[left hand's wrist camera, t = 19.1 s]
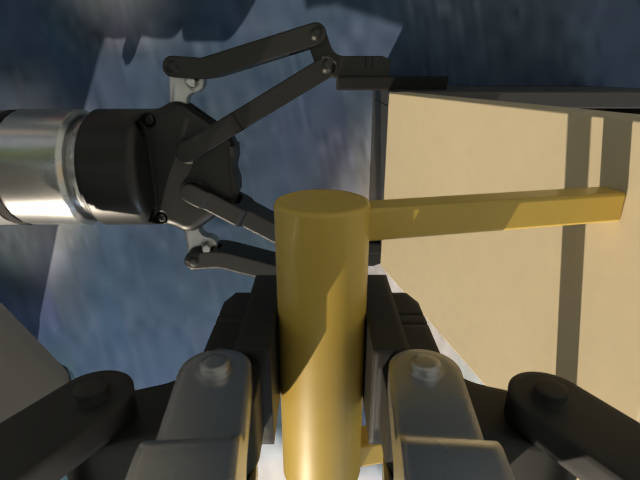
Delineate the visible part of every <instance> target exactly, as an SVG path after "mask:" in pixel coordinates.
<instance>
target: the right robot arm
mask: <svg viewBox="0 0 640 480" xmlns="http://www.w3.org/2000/svg"><path fill="white" fill-rule="evenodd" d="M307 50H311V53H312V56H313V59H314V62H313V63H312V64H310V65H309V66H307V67H305V68H304V69H302V70H300V71H299V72H297V73H296V74H294V75H292V76H291V77H289V78H287V79H286V80H284V81H283V82H281V83H279V84H278V85H276V86H274V87H273V88H271V89H270V90H268V91H266V92H265V93H263V94H261V95H260V96H258V97H257V98H255V99H253V100H252V101H250V102H248V103H247V104H245V105H244V106H242V107H240V108H239V109H237V110H235V111H234V112H232V113H230V114H229V115H227V116H225V117H224V118H222V119H220V120H219V121H216V120H214V119H213V118H212V117H210V116H209V115H207V114H206V113H205V112H203V111H202V110H200V109H199V108H197V107H196V106H195V105H193V104H192V103H190V98H191V96H192V95H193V94H194V93H196V92H200V91H202V90H204V89H205V87H206V84H207V79H212V78H219V77H223V76H226V75H230V74H233V73H236V72H239V71H242V70H246V69H249V68H252V67H255V66H259V65H262V64H265V63H268V62H271V61H275V60H278V59H281V58H284V57H288V56H291V55H294V54H297V53H300V52H304V51H307ZM163 70H164V72H165V73H166V74H167V75H168V76H169V78H170V103H168V104H166V105H165V106H163V107H161V108H158V109H96V110H93V111H92V112H88V111H86V110H83V109H19V110H6V111H0V225H16V224H26V225H32V224H61V225H93V224H95V223H97V222H99V221H100V222H101V223H103V224H170V225H173V226H176V227H178V228H180V229H182V230H185V236H186V241H187V247H188V254H187V255H186V257H185V264H186V266H187V267H188V268H190V269H209V268H221V269H225V270H229V271H233V272H237V273H241V274H245V275H249V276H253V277H256V275H276V252H273V251H269V250H265V249H261V248H257V247H253V246H250V245H246V244H242V243H238V242H234V241H229V240H219V238H218V236H216V235H215V234H212V233H208V232H206V231H205V230H204V229H203V228H202V226H203V225H204V224H205V223H207V222H208V221H209V220H211V219H212V218H214V217H215V216H217V217H219V218H221V219H223V220H225V221H227V222H229V223H231V224H233V225H235V226H242V227H244V228H246V229H248V230H250V231H252V232H254V233H256V234H258V235H260V236H262V237H264V238H266V239H268V240H270V241H271V242H273V243H275V225H274V212H273V211H272V210H270V209H268V208H266V207H264V206H262V205H260V204H258V203H257V202H255V201H254V200H253V199H252V198H251V197H249V196H248V195H246V194H244V193H242V192H240V189H241V188H242V177H241V173H240V170H239V167H238V160H239V156H240V145H239V142H237V140H236V137H235V136H234V135H236V134H237V133H239V132H241V131H242V130H244V129H245V128H247V127H249V126H250V125H252V124H254V123H255V122H257V121H259V120H260V119H262V118H263V117H265V116H267V115H268V114H270V113H272V112H273V111H275V110H277V109H278V108H280V107H282V106H283V105H285V104H287V103H288V102H290V101H292V100H293V99H295V98H297V97H298V96H300V95H302V94H303V93H305V92H307V91H308V90H310V89H311V88H313V87H315V86H316V85H318V84H320V83H321V82H323V81H325V80H326V79H328V78H330V77H337V80H336V89H337V90H447V80H448V77H445V76H389V74H390V59H388V58H385V57H383V56H340V55H337V54H336V53H334V51H333V50H332V48H331V46H330V43H329V40H328V37H327V34H326V30H325V28H324V26H323V25H322V24H321V23H318V22H314V23H310V24H307V25H304V26H301V27H298V28H294V29H291V30H288V31H285V32H282V33H279V34H275V35H272V36H269V37H266V38H263V39H260V40H256V41H253V42H250V43H247V44H244V45H241V46H237V47H234V48H231V49H228V50H225V51H222V52H218V53H215V54H212V55H209V56H206V57H202V58H195V57H182V56H168V57H167V58H165V60H164V61H163ZM381 247H382V245H381V242H380V240H375V241H369V253H368V266H374V265H377V264H380V260H381ZM73 379H75V376H74V375H73V373H72V372H71V371H70V370H69V369H68V368H67V367H65V366H64V365H62V364H60V363H59V362H58V361H57V360H56V359H55V358H54V357H53V356H52V355H51V354H50V353H49V352H48V351H47V349H46V348H45V347H44V346H43V345H42V344H41V343H40V342H39V341H38V340H37V339H36V338H35V337H34V336H33V335H32V334H31V333H30V332H29V331H28V330H27V329H26V328H25V327H24V326H23V325H22V324H21V323H20V322H19V321H18V320H17V319H16V318H15V317H14V316H13V314H12V313H11V312H10V311H9V310H8V309H7V308H6V307H5V306H4V305H3V304H2V303H1V302H0V423H1V422H3V421H4V420H6V419H8V418H9V417H11V416H13V415H14V414H16V413H18V412H19V411H21V410H23V409H24V408H26V407H28V406H29V405H31V404H33V403H34V402H36V401H38V400H39V399H41V398H43V397H44V396H46V395H48V394H49V393H51V392H53V391H54V390H56V389H58V388H59V387H61V386H63V385H64V384H66V383H68V382H70V381H72V380H73ZM61 480H68V479H67V475H66V476H64V477H63V478H62V479H61Z"/></svg>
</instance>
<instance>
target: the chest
mask: <svg viewBox="0 0 640 480" xmlns="http://www.w3.org/2000/svg"><path fill="white" fill-rule="evenodd" d="M390 92H412V93H423V94H433V95H443V96H454V97H464V98H475V99H485V100H495V101H506V102H516V103H526V104H537V105H547V106H558V107H568V108H578V109H589V110H599V111H609V112H620V113H630V114H640V89H638V88H617V87H596V86H447V90H373V114H372V140H371V166H370V192H369V201H370V200H384V187H385V167H386V147H387V127H388V107H389V93H390ZM380 242H381V245H382V240H380Z"/></svg>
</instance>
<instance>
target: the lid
mask: <svg viewBox="0 0 640 480" xmlns="http://www.w3.org/2000/svg"><path fill="white" fill-rule="evenodd" d="M274 225H275V251H276V278H277V305H278V332H279V359H280V385H281V412H282V439H283V466H284V474H285V477H286V480H357V479H358V476H359V473H360V467H363V466H368V465H374V464H379V463H383V450H382V444H369V440H368V433H367V425H364V426H362V405H363V375H364V350H365V325H366V304H367V278H368V253H369V241H375V240H382V247H381V266H382V267H383V268H384V270H385V271H386V272H387V273H388V274H389V275H390V276H391V278H392V279H393V280H394V281H395V282H396V283H397V284H398V286H399V287H400V288H401V289H402V290H403V291H404V293H407V294H408V295H410V296H411V297H412V298H413V299H415V300H416V301H417V302H418V303H419V305H420V308H421V310H422V312H423V314H424V315H425V317H426V318H427V319H428V320H429V321H430V322H431V323H432V325H433V326H434V327H435V328H436V329H437V330H438V331H439V333H440V334H441V335H442V336H443V337H444V338H445V340H446V341H447V342H448V343H449V344H450V345H451V346H452V348H453V349H454V350H455V351H456V352H457V353H458V354H459V356H460V357H461V358H462V359H463V360H464V361H465V362H466V364H467V365H468V366H469V367H470V368H471V369H472V370H473V372H474V373H475V374H476V375H477V376H478V377H479V378H480V380H481V381H482V382H483V383H484V384H485V385H486V386H489V387H494V388H498V389H503V390H507V389H508V383H509V381H510V379H511V378H512V377H513V376H515V375H517V374H519V373H523V372H544V373H549V374H553V375H556V376H559V377H562V378H564V379H566V380H568V381H570V382H572V383H574V384H576V385H577V386H579V387H581V388H582V389H584V390H586V391H587V392H589V393H591V394H592V395H594V396H596V397H597V398H599V399H601V400H602V401H604V402H606V403H607V404H609V405H611V406H612V407H614V408H616V409H617V410H619V411H621V412H622V413H624V414H626V415H627V416H629V417H631V418H632V419H634V420H636V421H637V422H639V423H640V114H630V113H620V112H609V111H599V110H589V109H578V108H568V107H558V106H547V105H537V104H526V103H516V102H506V101H495V100H485V99H475V98H464V97H454V96H443V95H433V94H423V93H412V92H390V93H389V107H388V127H387V147H386V167H385V187H384V200H370V201H368V199H367V198H365V197H363V196H361V195H358V194H355V193H352V192H347V191H340V190H327V189H317V190H303V191H297V192H292V193H289V194H286V195H283V196H281V197H279V198H278V199H277V200H276V201H275V204H274ZM576 480H579V479H578V478H577V479H576Z"/></svg>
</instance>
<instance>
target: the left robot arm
mask: <svg viewBox="0 0 640 480" xmlns="http://www.w3.org/2000/svg"><path fill="white" fill-rule="evenodd" d="M280 392H281V385H280V359H279V332H278V305H277V278H276V275H256V278H255V281H254V284H253V287H252V291H251V293H235V294H234V295H233V296H231V297H230V298H229V299H228V300H226V301H225V302H224V304H223V307H222V309H221V311H220V316H218V319H217V321H216V325H215V326H214V328H213V331H212V333H211V335H210V338H209V340H208V343H207V345H206V347H205V350H204V352H202V353H200V354H197V355H195V356H193V357H191V358H190V359H189V360H187V361H186V362H185V363H184V364H183V365H182V366H181V368H180V370H179V372H178V375H177V378H176V380H175V381H172V382H170V383H167V384H163V385H158V386H154V387H149V388H144V389H139V390H134V384H133V380H132V379H131V377H130V376H129V375H127V374H125V373H123V372H119V371H110V370H107V371H98V372H93V373H89V374H86V375H83V376H80V377H78V378H75V379H73V380H72V381H70V382H68V383H66V384H64V385H63V386H61V387H59V388H58V389H56V390H54V391H53V392H51V393H49V394H48V395H46V396H44V397H43V398H41V399H39V400H38V401H36V402H34V403H33V404H31V405H29V406H28V407H26V408H24V409H23V410H21V411H19V412H18V413H16V414H14V415H13V416H11V417H9V418H8V419H6V420H4V421H3V422H1V423H0V480H61V479H62V478H63V477H64V476H66V475H67V479H68V480H258V466H257V463H258V461H259V458H260V452H261V445H262V444H274V440H275V432H276V424H277V416H278V408H279V400H280ZM363 402H364V410H365V418H366V425H367V433H368V440H369V444H382V450H383V467H382V480H576V479H577V478H578V479H579V480H640V423H639V422H637V421H636V420H634V419H632V418H631V417H629V416H627V415H626V414H624V413H622V412H621V411H619V410H617V409H616V408H614V407H612V406H611V405H609V404H607V403H606V402H604V401H602V400H601V399H599V398H597V397H596V396H594V395H592V394H591V393H589V392H587V391H586V390H584V389H582V388H581V387H579V386H577V385H576V384H574V383H572V382H570V381H568V380H566V379H564V378H562V377H559V376H556V375H553V374H549V373H544V372H523V373H519V374H517V375H515V376H513V377H512V378H511V379H510V381H509V383H508V389H507V390H503V389H498V388H494V387H489V386H484V385H480V384H476V383H473V382H471V381H468V380H466V379H464V378H463V375H462V372H461V370H460V368H459V366H458V365H457V364H456V363H455V362H454V361H453V360H451V359H450V358H449V357H447V356H445V355H443V354H440V352H439V350H438V347H437V345H436V343H435V340H434V338H433V336H432V333H431V331H430V329H429V326H428V325H427V322H426V319H425V317H424V316H423V312H422V310H421V308H420V305H419V303H418V302H417V301H416V300H415V299H413V298H412V297H411V296H410V295H408V294H407V293H392V292H391V289H390V286H389V283H388V280H387V276H386V275H368V278H367V304H366V325H365V350H364V375H363Z"/></svg>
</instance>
